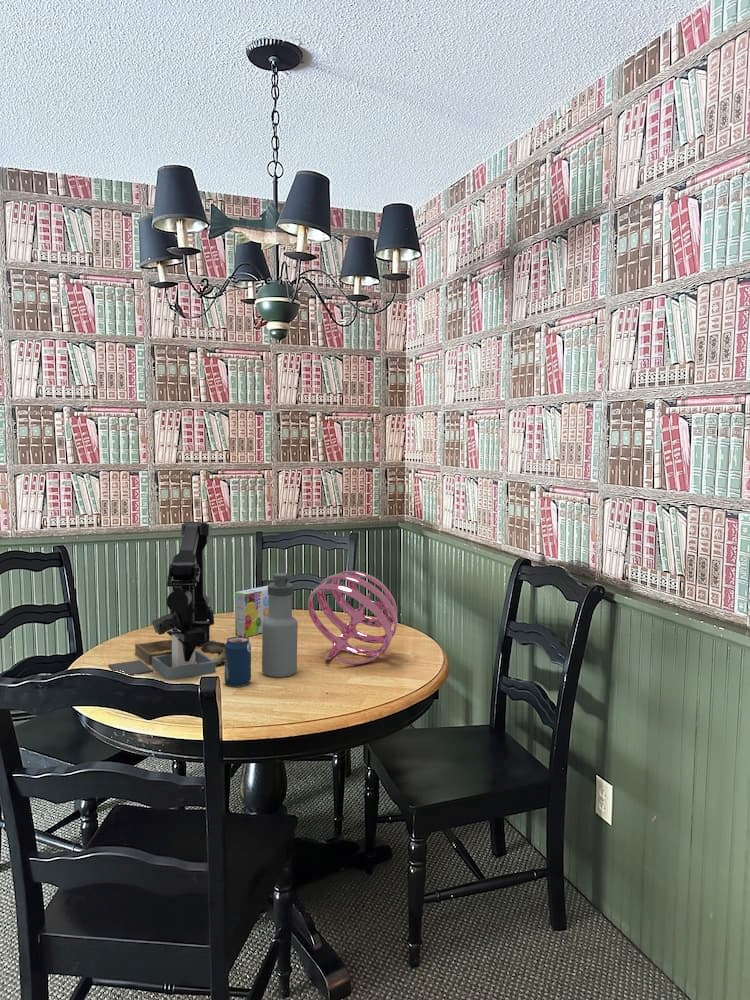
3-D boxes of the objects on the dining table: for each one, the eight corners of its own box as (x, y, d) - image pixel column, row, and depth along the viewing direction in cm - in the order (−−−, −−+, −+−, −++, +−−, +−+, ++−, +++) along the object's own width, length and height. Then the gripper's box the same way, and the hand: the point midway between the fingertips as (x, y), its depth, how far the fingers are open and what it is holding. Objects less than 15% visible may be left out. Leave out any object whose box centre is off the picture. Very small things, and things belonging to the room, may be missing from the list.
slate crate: (197, 660, 216) (197, 650, 216) (215, 672, 205) (215, 661, 204) (151, 667, 208) (151, 656, 208) (167, 680, 197) (167, 669, 197)
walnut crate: (179, 647, 229) (179, 638, 229) (194, 658, 218) (194, 648, 218) (135, 653, 221) (135, 644, 221) (149, 665, 210) (149, 654, 210)
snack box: (277, 624, 263) (278, 582, 262) (289, 626, 260) (289, 584, 259) (234, 635, 246) (234, 591, 245) (246, 638, 243) (246, 593, 242)
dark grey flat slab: (140, 661, 213) (140, 660, 213) (153, 672, 203) (153, 670, 203) (108, 666, 208) (108, 664, 208) (120, 677, 198) (120, 675, 198)
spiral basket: (335, 611, 196) (381, 546, 214) (270, 619, 215) (317, 559, 233) (388, 684, 205) (428, 616, 223) (321, 685, 224) (363, 623, 242)
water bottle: (263, 667, 210) (264, 570, 209) (297, 667, 211) (299, 571, 209) (260, 678, 200) (261, 576, 198) (296, 678, 201) (297, 577, 199)
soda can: (255, 681, 197) (256, 637, 196) (241, 689, 191) (241, 643, 190) (234, 678, 200) (234, 634, 199) (219, 685, 193) (219, 640, 193)
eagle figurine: (219, 652, 220) (195, 653, 213) (231, 635, 219) (207, 635, 211) (231, 670, 216) (208, 672, 209) (243, 652, 214) (220, 653, 207)
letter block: (188, 666, 210) (189, 631, 209) (195, 670, 206) (195, 635, 205) (171, 668, 207) (171, 633, 206) (177, 673, 203) (178, 637, 202)
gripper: (144, 601, 208) (144, 655, 209) (166, 613, 193) (166, 672, 194) (182, 597, 215) (182, 650, 216) (206, 609, 199) (206, 665, 200)
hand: (183, 659), depth 206 cm, fingers closed on letter block, 5 cm apart
